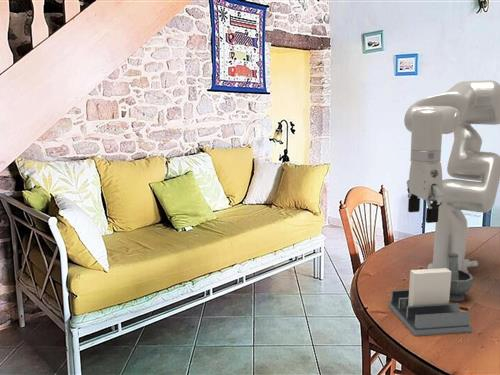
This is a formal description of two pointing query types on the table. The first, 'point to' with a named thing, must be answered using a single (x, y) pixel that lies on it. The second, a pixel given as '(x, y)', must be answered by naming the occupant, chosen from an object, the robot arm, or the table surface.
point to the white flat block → (429, 286)
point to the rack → (429, 316)
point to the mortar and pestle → (458, 279)
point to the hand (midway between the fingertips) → (422, 216)
